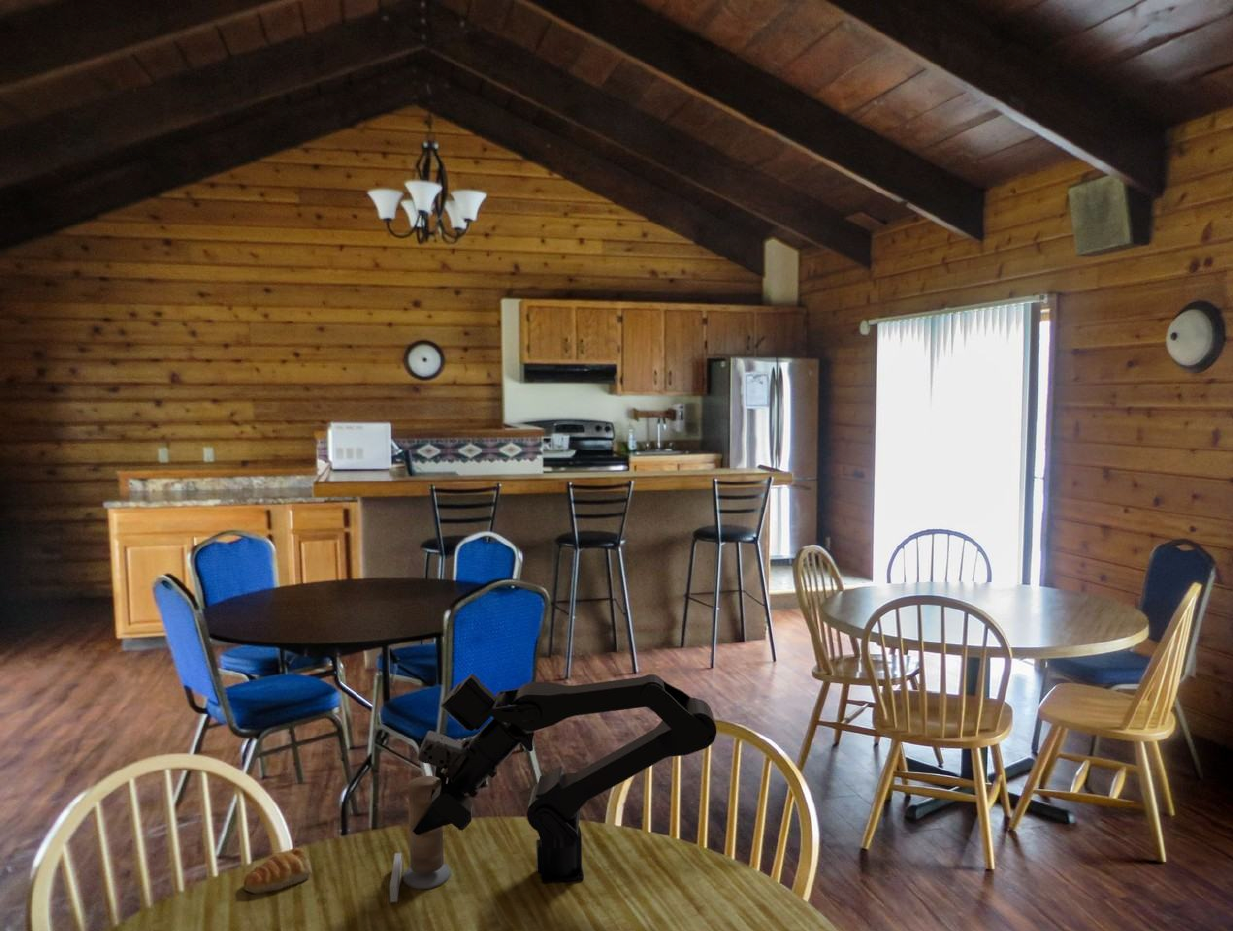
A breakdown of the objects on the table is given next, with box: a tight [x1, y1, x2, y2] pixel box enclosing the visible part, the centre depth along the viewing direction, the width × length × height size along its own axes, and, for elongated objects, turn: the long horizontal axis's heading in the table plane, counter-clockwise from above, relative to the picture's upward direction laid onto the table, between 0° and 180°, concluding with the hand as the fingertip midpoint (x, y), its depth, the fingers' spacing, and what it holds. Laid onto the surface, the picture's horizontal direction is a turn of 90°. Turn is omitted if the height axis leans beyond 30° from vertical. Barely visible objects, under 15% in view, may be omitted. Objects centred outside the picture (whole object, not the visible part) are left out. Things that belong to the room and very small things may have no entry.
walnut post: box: [407, 775, 445, 873], centre depth 135 cm, size 5×5×13 cm
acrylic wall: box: [389, 852, 403, 903], centre depth 133 cm, size 1×9×2 cm, turn 9°
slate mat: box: [403, 862, 451, 890], centre depth 136 cm, size 7×7×1 cm
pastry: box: [243, 846, 313, 895], centre depth 135 cm, size 9×7×4 cm
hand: (416, 824), depth 135 cm, fingers closed on walnut post, 5 cm apart
